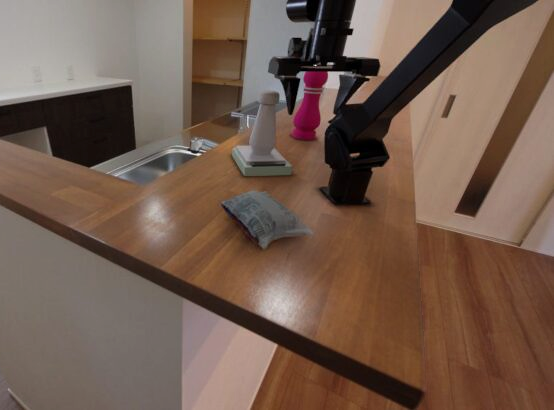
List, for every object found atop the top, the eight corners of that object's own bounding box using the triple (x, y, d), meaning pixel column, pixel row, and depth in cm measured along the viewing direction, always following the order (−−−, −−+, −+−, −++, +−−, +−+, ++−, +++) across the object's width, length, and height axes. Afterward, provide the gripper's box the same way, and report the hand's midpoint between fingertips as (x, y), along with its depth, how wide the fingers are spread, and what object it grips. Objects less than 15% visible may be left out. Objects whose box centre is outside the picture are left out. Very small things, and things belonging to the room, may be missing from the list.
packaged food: (264, 205, 52) (268, 179, 49) (311, 245, 42) (319, 215, 40) (218, 215, 49) (219, 188, 46) (257, 260, 39) (262, 229, 37)
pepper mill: (285, 134, 89) (298, 59, 79) (306, 132, 91) (321, 58, 81) (300, 141, 83) (316, 61, 73) (322, 139, 85) (340, 61, 75)
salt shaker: (266, 159, 64) (276, 94, 57) (243, 152, 67) (249, 91, 60) (278, 152, 68) (289, 91, 61) (256, 146, 71) (263, 87, 64)
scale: (290, 175, 63) (293, 163, 62) (244, 176, 62) (245, 164, 61) (272, 154, 73) (273, 144, 72) (231, 155, 73) (232, 145, 71)
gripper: (357, 23, 59) (336, 105, 67) (264, 21, 57) (254, 106, 65) (396, 22, 49) (367, 118, 57) (286, 19, 48) (271, 118, 56)
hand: (312, 114), depth 59 cm, fingers open, 9 cm apart
